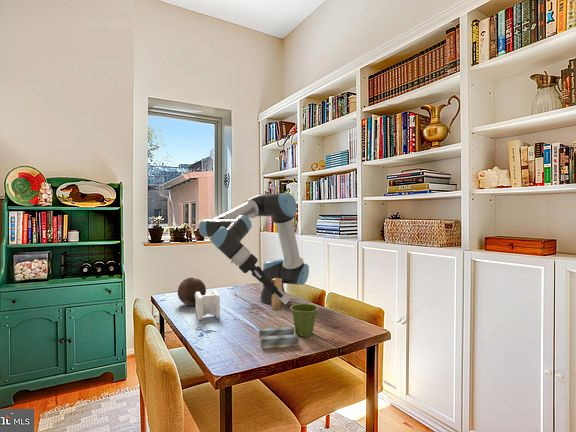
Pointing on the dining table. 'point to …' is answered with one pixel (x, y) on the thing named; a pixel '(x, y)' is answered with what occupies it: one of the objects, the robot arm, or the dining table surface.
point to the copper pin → (275, 300)
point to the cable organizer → (207, 304)
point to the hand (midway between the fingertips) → (286, 300)
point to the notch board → (277, 337)
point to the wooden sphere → (190, 290)
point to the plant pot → (304, 318)
